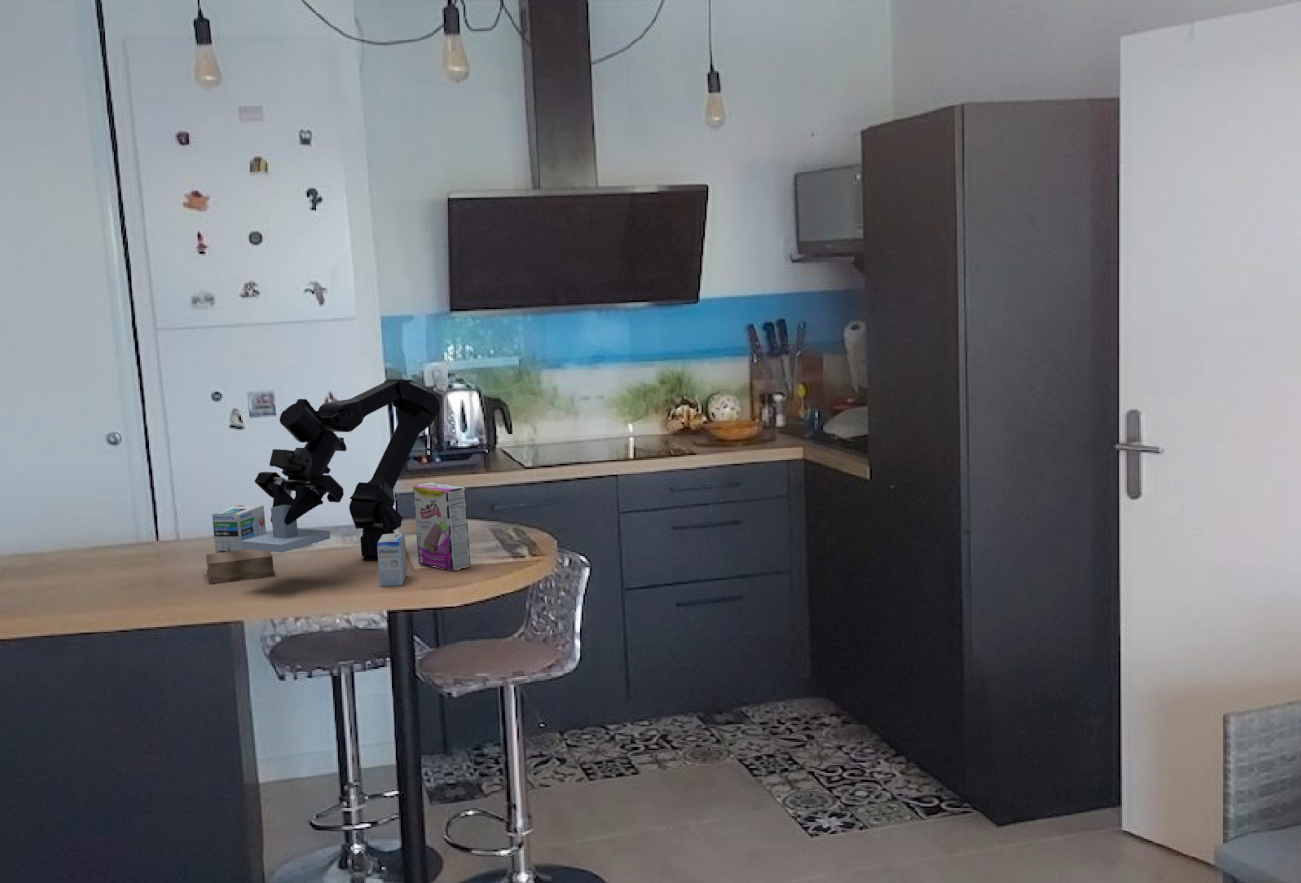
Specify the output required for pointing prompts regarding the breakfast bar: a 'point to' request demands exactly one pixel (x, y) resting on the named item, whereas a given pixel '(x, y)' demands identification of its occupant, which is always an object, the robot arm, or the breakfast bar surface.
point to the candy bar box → (441, 525)
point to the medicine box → (392, 559)
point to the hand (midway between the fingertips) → (279, 523)
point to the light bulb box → (237, 526)
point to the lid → (284, 534)
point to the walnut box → (239, 565)
